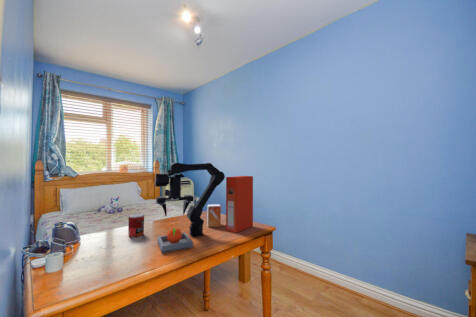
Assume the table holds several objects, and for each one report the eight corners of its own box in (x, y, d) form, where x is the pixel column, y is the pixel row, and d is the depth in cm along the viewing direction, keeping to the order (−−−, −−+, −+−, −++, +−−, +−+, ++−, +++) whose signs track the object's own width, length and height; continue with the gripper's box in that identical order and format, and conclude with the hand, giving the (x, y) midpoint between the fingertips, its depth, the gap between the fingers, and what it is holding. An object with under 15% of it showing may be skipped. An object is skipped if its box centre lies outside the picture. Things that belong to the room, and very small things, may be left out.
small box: (207, 227, 133) (208, 206, 133) (207, 224, 139) (207, 204, 139) (220, 226, 134) (221, 205, 135) (219, 223, 141) (219, 204, 141)
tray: (185, 238, 113) (185, 232, 113) (192, 247, 101) (192, 241, 101) (157, 242, 107) (157, 236, 107) (161, 253, 94) (161, 246, 94)
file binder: (225, 230, 126) (226, 176, 127) (242, 224, 140) (243, 175, 141) (236, 233, 121) (236, 177, 122) (252, 226, 135) (253, 176, 136)
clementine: (181, 245, 100) (181, 230, 101) (166, 247, 99) (166, 231, 99) (181, 239, 108) (181, 225, 108) (167, 241, 107) (167, 226, 107)
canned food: (137, 237, 113) (138, 217, 113) (124, 236, 114) (125, 216, 115) (146, 233, 120) (147, 213, 121) (134, 232, 122) (134, 213, 122)
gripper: (188, 184, 125) (188, 210, 125) (155, 185, 117) (154, 213, 116) (194, 185, 116) (193, 214, 115) (157, 187, 107) (157, 218, 107)
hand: (174, 215), depth 114 cm, fingers open, 9 cm apart
